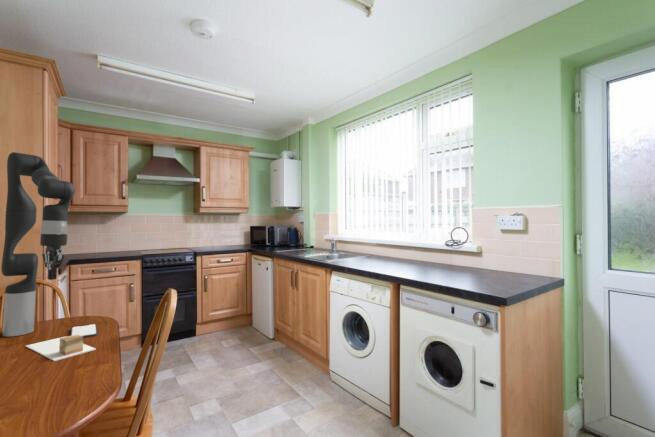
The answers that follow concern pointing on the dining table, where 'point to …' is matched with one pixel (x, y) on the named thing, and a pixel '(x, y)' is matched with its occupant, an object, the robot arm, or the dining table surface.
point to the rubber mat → (55, 349)
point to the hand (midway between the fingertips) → (51, 279)
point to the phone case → (85, 330)
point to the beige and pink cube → (71, 344)
